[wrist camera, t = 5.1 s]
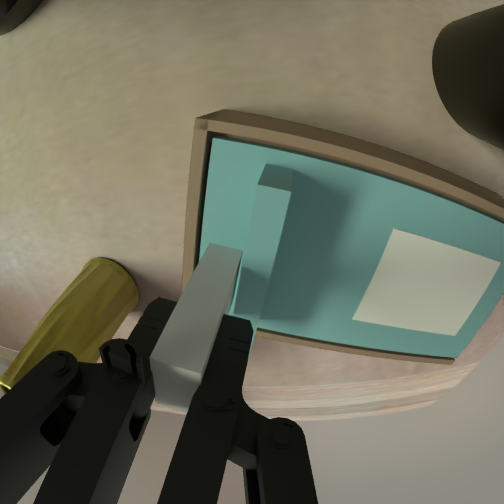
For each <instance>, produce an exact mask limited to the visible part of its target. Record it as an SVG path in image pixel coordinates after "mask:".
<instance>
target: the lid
mask: <svg viewBox="0 0 504 504" xmlns="http://www.w3.org/2000/svg"><path fill="white" fill-rule="evenodd" d="M209 243H213V244H217V245H221V246H226V247H230V248H234V249H238V250H243V253H242V258H241V263H240V268H239V273H238V278H237V284H236V289H235V294H234V299H233V302H232V305H231V308H230V311H229V315H231V316H235V317H239V318H243V319H247V320H250V321H251V324H252V328H253V331H254V333H253V337H252V342H251V347H250V352H251V349H252V345H253V341H254V338H255V334H256V330H257V327H258V328H263V329H267V330H272V331H277V332H282V333H287V334H292V335H297V336H302V337H308V338H313V339H319V340H324V341H330V342H336V343H342V344H348V345H354V346H361V347H367V348H374V349H381V350H389V351H396V352H404V353H413V354H422V355H431V356H441V357H452V358H457V357H458V356H459V355H460V354H461V353H462V351H463V350H464V349H465V348H466V346H467V345H468V344H469V342H470V341H471V340H472V338H473V337H474V336H475V334H476V333H477V332H478V330H479V329H480V328H481V326H482V325H483V323H484V322H485V321H486V319H487V318H488V316H489V315H490V313H491V312H492V310H493V309H494V307H495V306H496V304H497V303H498V301H499V299H500V298H501V296H502V295H503V293H504V221H502V220H500V219H498V218H495V217H493V216H491V215H489V214H487V213H484V212H482V211H480V210H477V209H475V208H473V207H470V206H468V205H466V204H463V203H461V202H458V201H456V200H453V199H451V198H448V197H446V196H443V195H441V194H438V193H435V192H433V191H430V190H427V189H424V188H422V187H419V186H416V185H413V184H410V183H407V182H404V181H401V180H398V179H395V178H392V177H389V176H386V175H383V174H380V173H377V172H373V171H370V170H367V169H363V168H360V167H357V166H353V165H350V164H346V163H342V162H339V161H335V160H331V159H327V158H323V157H319V156H315V155H311V154H307V153H303V152H299V151H294V150H290V149H285V148H281V147H276V146H271V145H267V144H262V143H256V142H251V141H246V140H240V139H235V138H229V137H223V136H215V137H214V138H213V140H212V147H211V155H210V162H209V170H208V179H207V187H206V196H205V205H204V214H203V224H202V235H201V245H200V257H199V261H200V259H201V258H202V256H203V254H204V252H205V250H206V248H207V247H208V245H209ZM250 352H249V356H250ZM248 358H249V357H248Z"/></svg>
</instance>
